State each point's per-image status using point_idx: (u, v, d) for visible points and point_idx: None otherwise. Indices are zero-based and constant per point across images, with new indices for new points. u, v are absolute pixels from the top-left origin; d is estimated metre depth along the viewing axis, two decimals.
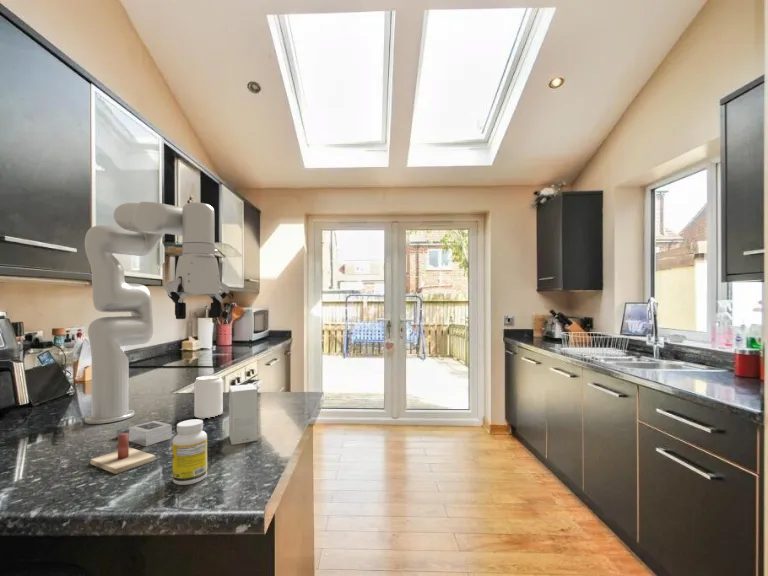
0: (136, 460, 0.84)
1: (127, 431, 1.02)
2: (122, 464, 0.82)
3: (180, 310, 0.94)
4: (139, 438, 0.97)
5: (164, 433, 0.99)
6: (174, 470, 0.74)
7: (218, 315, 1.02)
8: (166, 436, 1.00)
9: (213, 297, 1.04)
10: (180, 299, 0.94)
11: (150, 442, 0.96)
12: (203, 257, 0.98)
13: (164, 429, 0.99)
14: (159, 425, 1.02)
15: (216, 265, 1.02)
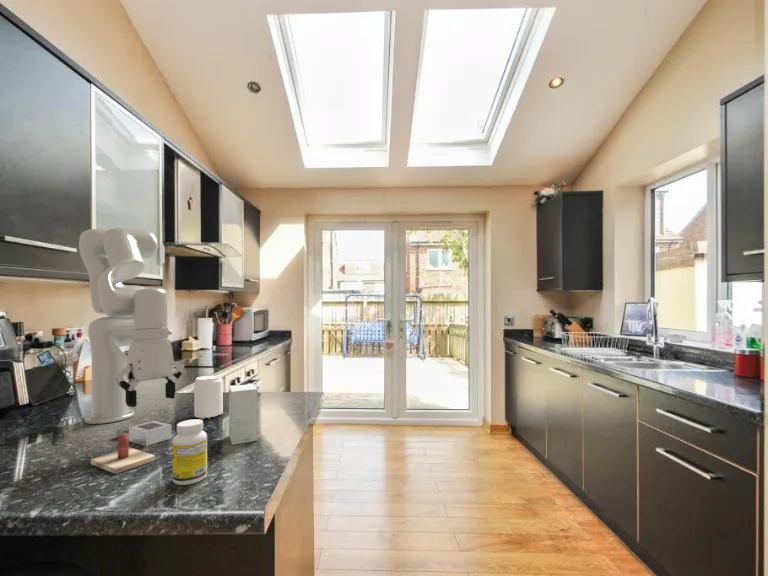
0: (136, 460, 0.84)
1: (127, 431, 1.02)
2: (122, 464, 0.82)
3: (130, 398, 0.95)
4: (139, 438, 0.97)
5: (164, 433, 0.99)
6: (174, 470, 0.74)
7: (172, 397, 1.03)
8: (166, 436, 1.00)
9: (168, 377, 1.05)
10: (130, 387, 0.95)
11: (150, 442, 0.96)
12: (155, 342, 0.99)
13: (164, 429, 0.99)
14: (159, 425, 1.02)
15: (169, 347, 1.03)
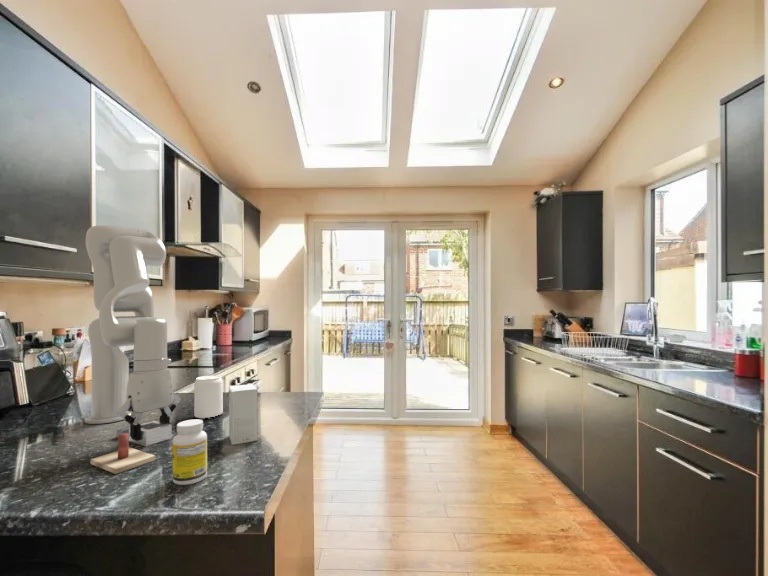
0: (136, 460, 0.84)
1: (127, 431, 1.02)
2: (122, 464, 0.82)
3: (135, 432, 0.96)
4: None
5: (164, 433, 0.99)
6: (174, 470, 0.74)
7: None
8: (166, 436, 1.00)
9: (163, 409, 1.04)
10: (135, 422, 0.96)
11: (150, 442, 0.96)
12: (154, 373, 0.99)
13: (164, 429, 0.99)
14: (159, 425, 1.02)
15: (169, 377, 1.03)
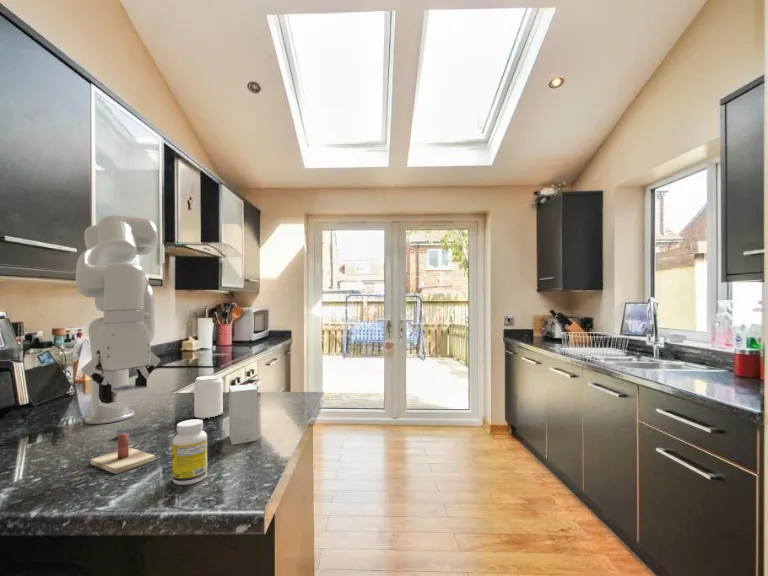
0: (136, 460, 0.84)
1: (127, 431, 1.02)
2: (122, 464, 0.82)
3: (104, 393, 0.83)
4: None
5: (139, 396, 0.85)
6: (174, 470, 0.74)
7: None
8: (142, 399, 0.86)
9: (139, 371, 0.90)
10: (104, 381, 0.82)
11: (122, 405, 0.82)
12: (128, 326, 0.86)
13: (139, 391, 0.85)
14: (134, 388, 0.88)
15: (145, 332, 0.89)
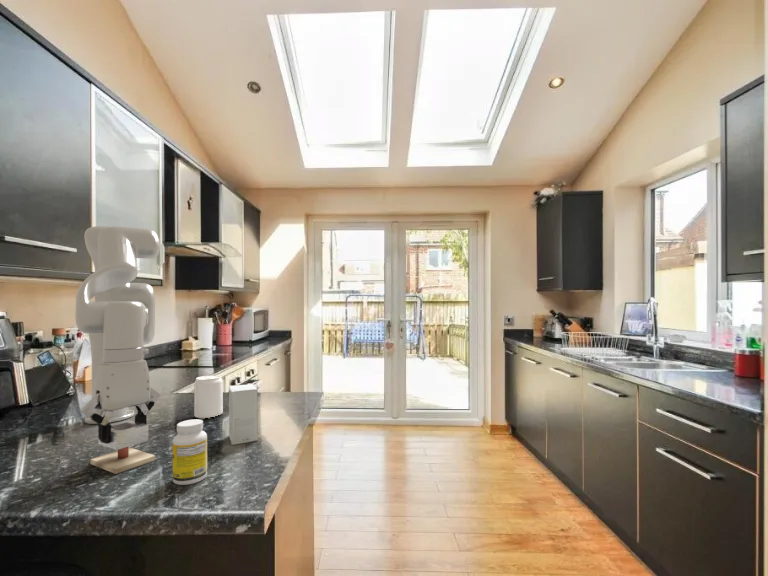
0: (136, 460, 0.84)
1: None
2: (122, 464, 0.82)
3: (104, 433, 0.82)
4: None
5: (139, 434, 0.85)
6: (174, 470, 0.74)
7: None
8: (142, 438, 0.86)
9: (139, 407, 0.90)
10: (103, 421, 0.82)
11: (122, 445, 0.82)
12: (127, 364, 0.85)
13: (139, 430, 0.85)
14: (134, 425, 0.88)
15: (145, 369, 0.89)
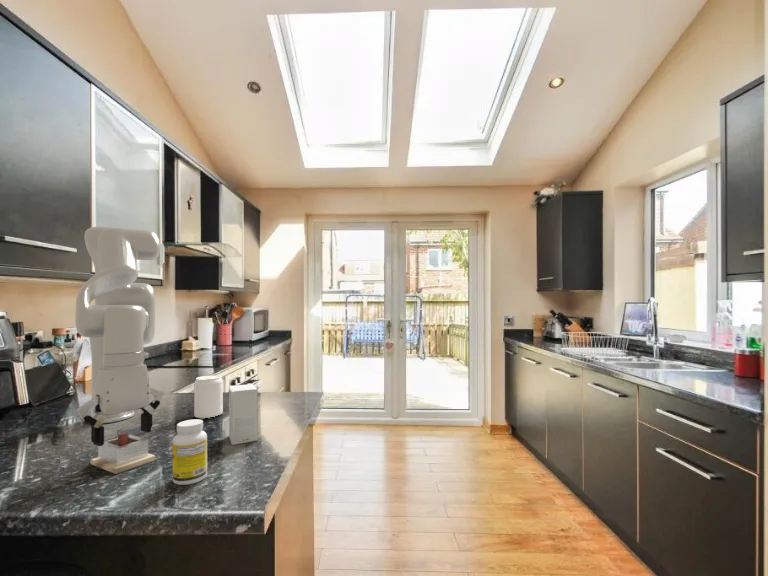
0: (136, 460, 0.84)
1: (127, 431, 1.02)
2: (122, 464, 0.82)
3: (97, 436, 0.81)
4: (109, 456, 0.83)
5: (139, 450, 0.85)
6: (174, 470, 0.74)
7: (148, 430, 0.89)
8: (141, 453, 0.86)
9: (144, 407, 0.91)
10: (96, 423, 0.81)
11: (122, 461, 0.82)
12: (127, 369, 0.85)
13: (139, 445, 0.85)
14: (134, 440, 0.88)
15: (145, 373, 0.89)
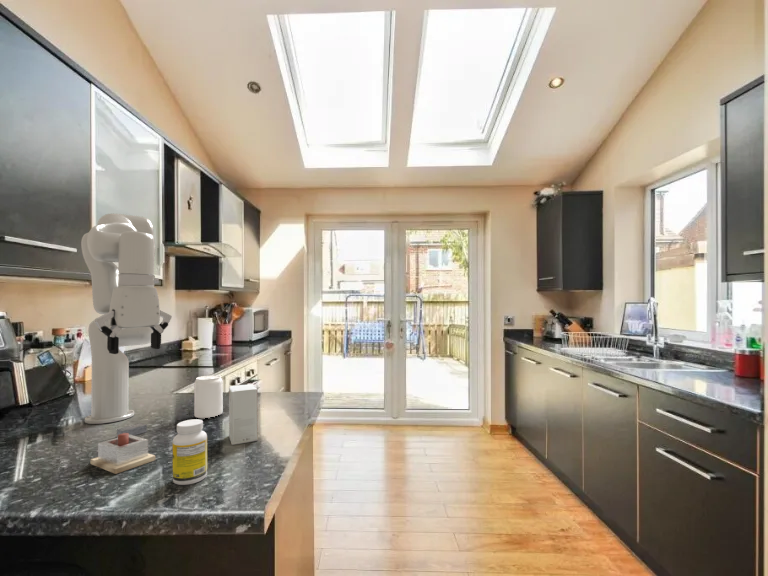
0: (136, 460, 0.84)
1: (127, 431, 1.02)
2: (122, 464, 0.82)
3: (112, 345, 0.91)
4: (109, 456, 0.83)
5: (139, 450, 0.85)
6: (174, 470, 0.74)
7: (157, 347, 0.99)
8: (141, 453, 0.86)
9: (153, 327, 1.01)
10: (112, 334, 0.91)
11: (122, 461, 0.82)
12: (139, 288, 0.95)
13: (139, 445, 0.85)
14: (134, 440, 0.88)
15: (155, 295, 0.98)
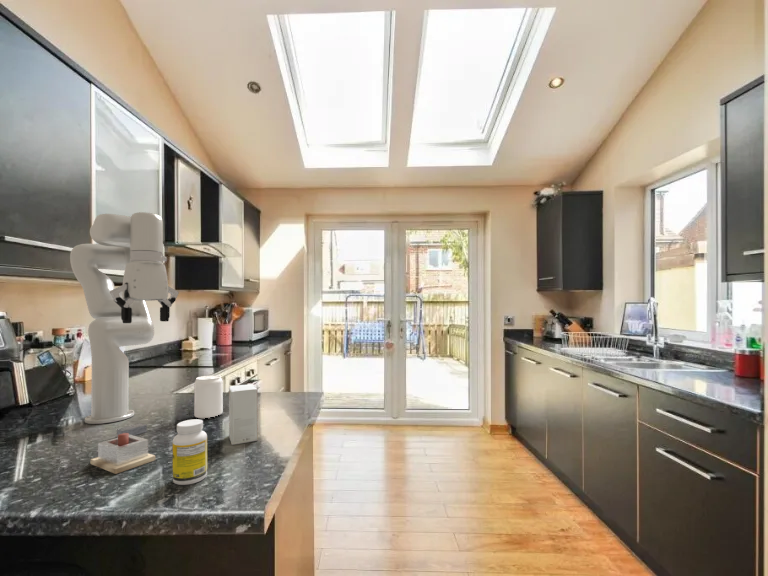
0: (136, 460, 0.84)
1: (127, 431, 1.02)
2: (122, 464, 0.82)
3: (126, 315, 0.99)
4: (109, 456, 0.83)
5: (139, 450, 0.85)
6: (174, 470, 0.74)
7: (166, 319, 1.08)
8: (141, 453, 0.86)
9: (162, 302, 1.09)
10: (126, 304, 0.99)
11: (122, 461, 0.82)
12: (150, 264, 1.03)
13: (139, 445, 0.85)
14: (134, 440, 0.88)
15: (164, 271, 1.07)
